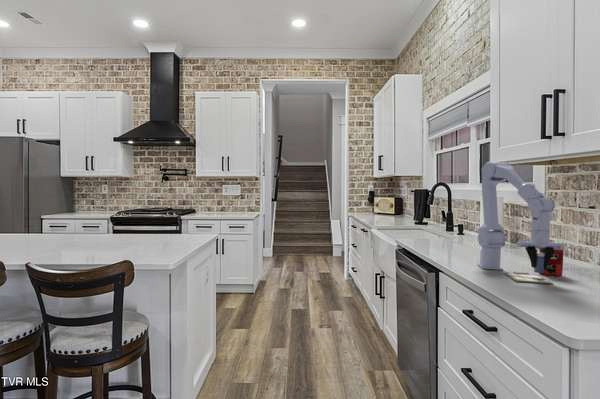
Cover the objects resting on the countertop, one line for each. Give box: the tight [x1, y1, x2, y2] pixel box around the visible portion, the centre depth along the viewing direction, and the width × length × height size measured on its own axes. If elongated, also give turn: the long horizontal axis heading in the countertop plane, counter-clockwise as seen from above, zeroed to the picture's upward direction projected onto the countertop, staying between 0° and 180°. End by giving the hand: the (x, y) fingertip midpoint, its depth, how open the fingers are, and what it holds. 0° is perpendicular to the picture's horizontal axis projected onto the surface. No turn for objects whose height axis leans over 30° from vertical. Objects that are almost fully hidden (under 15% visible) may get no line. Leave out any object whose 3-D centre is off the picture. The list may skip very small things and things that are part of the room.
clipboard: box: [503, 271, 554, 285], centre depth 146 cm, size 14×12×1 cm
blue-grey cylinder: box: [533, 251, 545, 274], centre depth 143 cm, size 3×3×7 cm
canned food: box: [538, 246, 564, 278], centre depth 154 cm, size 8×8×11 cm
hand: (538, 267), depth 143 cm, fingers closed on blue-grey cylinder, 3 cm apart
